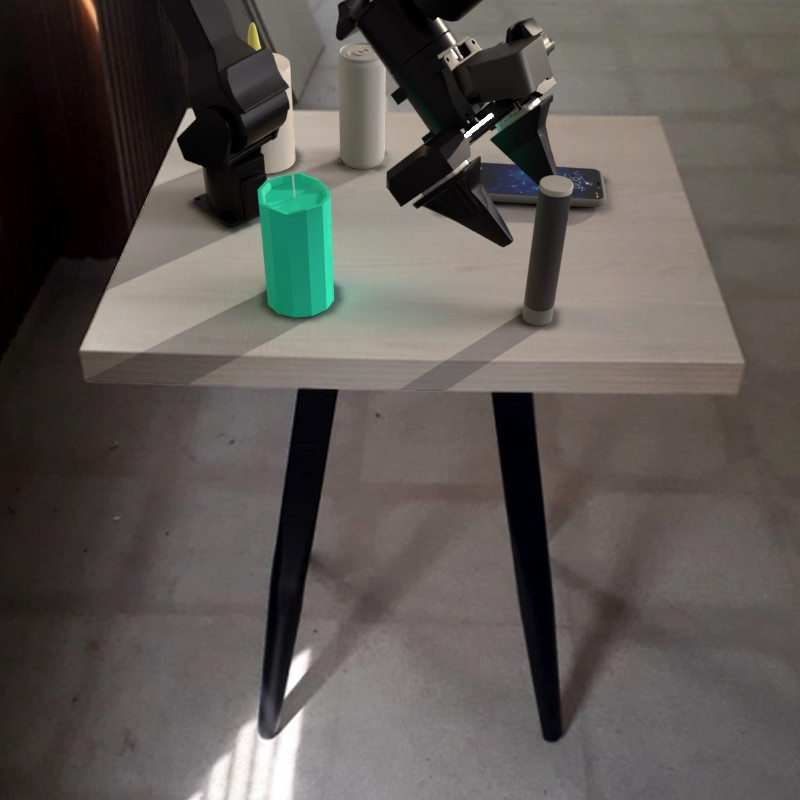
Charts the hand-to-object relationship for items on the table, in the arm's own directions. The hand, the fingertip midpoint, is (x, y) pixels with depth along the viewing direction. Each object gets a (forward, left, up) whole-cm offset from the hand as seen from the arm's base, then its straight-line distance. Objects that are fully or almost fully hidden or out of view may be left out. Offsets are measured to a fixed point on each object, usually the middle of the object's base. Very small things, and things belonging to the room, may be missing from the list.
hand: (534, 218), depth 77 cm
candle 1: (-37, -1, -9) cm, 38 cm away
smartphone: (-14, +16, -9) cm, 23 cm away
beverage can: (-30, +7, -9) cm, 32 cm away
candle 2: (-14, -13, -9) cm, 22 cm away
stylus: (+1, 0, -9) cm, 9 cm away
